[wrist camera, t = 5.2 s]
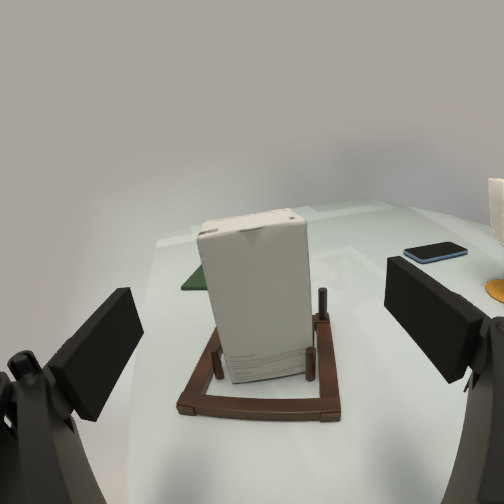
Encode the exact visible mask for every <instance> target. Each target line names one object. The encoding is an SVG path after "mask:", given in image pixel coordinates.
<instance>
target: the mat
mask: <svg viewBox="0 0 504 504" xmlns="http://www.w3.org/2000/svg"><path fill="white" fill-rule="evenodd" d="M181 290H208V289H207V285H206V281H205V276H204V272H203V267H202V264H201V266H200V267H199V268H198V269H197V270H196V271H195V272H194V273H193V274H192V275H191V276H190V278H189V279H188V280H187V281H186V282H185V283H184V284H183V285H182V286H181Z"/></svg>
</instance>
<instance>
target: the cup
mask: <svg viewBox="0 0 504 504" xmlns="http://www.w3.org/2000/svg"><path fill="white" fill-rule="evenodd" d="M488 185H489V206H490V218H491V225H492V229H493V231H494V234H495V237H496V238H497V240H498V241H499V243H500V244H501V245H503V246H504V179H497V178H489V179H488ZM485 288H486V291H487V293H488V294H489V295H490V296H491V297H493V298H494V299H496V300H498V301H500V302H503V303H504V280H501V279H496V280H491V281H489V282H487V284H486V286H485Z"/></svg>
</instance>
